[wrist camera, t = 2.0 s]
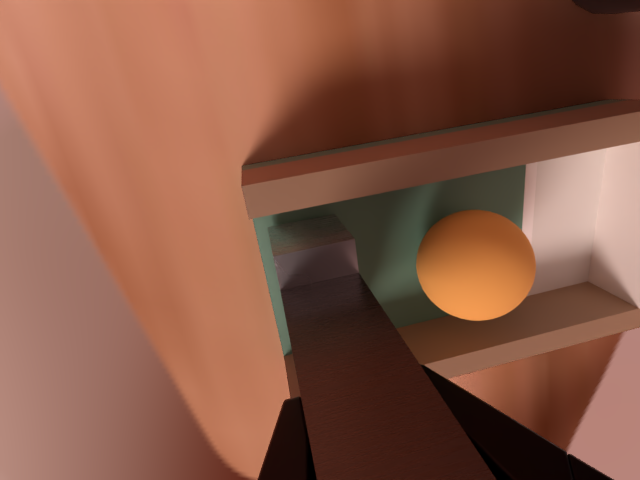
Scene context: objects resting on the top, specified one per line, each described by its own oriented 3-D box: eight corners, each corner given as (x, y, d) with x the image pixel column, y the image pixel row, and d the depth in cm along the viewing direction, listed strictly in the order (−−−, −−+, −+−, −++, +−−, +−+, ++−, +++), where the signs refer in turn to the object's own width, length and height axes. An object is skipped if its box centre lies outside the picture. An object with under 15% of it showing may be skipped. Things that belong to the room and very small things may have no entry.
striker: (349, 322, 16) (531, 705, 6) (290, 336, 15) (377, 766, 5) (334, 213, 14) (563, 501, 4) (267, 227, 13) (333, 576, 4)
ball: (488, 277, 16) (559, 328, 13) (402, 297, 16) (450, 356, 12) (491, 189, 15) (571, 218, 11) (396, 208, 14) (448, 245, 11)
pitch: (582, 286, 19) (720, 362, 14) (285, 359, 17) (305, 483, 12) (608, 99, 16) (806, 99, 10) (241, 165, 14) (241, 210, 8)
